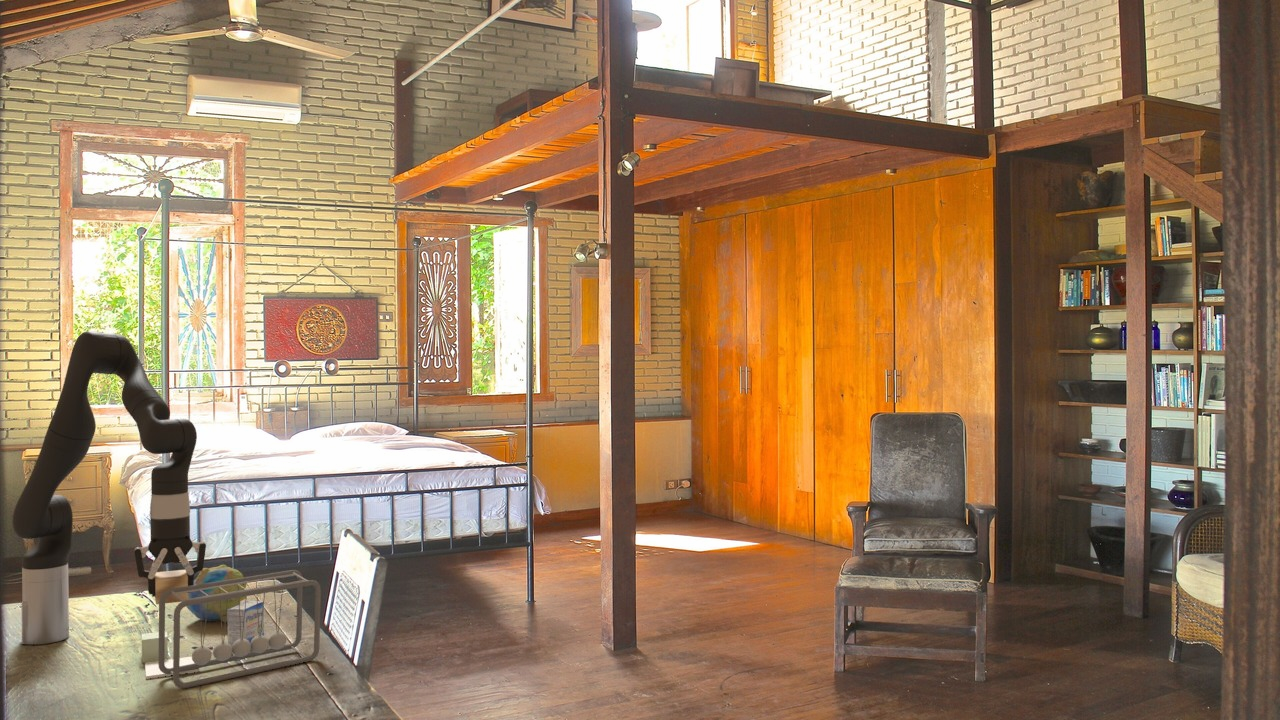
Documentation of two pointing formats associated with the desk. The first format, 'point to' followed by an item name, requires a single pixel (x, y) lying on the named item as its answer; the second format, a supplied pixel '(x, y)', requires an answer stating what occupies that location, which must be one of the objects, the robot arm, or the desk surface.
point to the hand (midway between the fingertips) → (171, 593)
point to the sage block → (152, 647)
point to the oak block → (170, 584)
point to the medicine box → (245, 621)
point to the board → (154, 671)
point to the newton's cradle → (241, 645)
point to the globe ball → (214, 607)
